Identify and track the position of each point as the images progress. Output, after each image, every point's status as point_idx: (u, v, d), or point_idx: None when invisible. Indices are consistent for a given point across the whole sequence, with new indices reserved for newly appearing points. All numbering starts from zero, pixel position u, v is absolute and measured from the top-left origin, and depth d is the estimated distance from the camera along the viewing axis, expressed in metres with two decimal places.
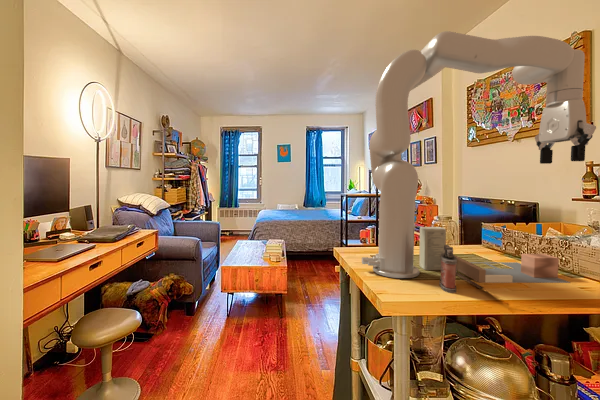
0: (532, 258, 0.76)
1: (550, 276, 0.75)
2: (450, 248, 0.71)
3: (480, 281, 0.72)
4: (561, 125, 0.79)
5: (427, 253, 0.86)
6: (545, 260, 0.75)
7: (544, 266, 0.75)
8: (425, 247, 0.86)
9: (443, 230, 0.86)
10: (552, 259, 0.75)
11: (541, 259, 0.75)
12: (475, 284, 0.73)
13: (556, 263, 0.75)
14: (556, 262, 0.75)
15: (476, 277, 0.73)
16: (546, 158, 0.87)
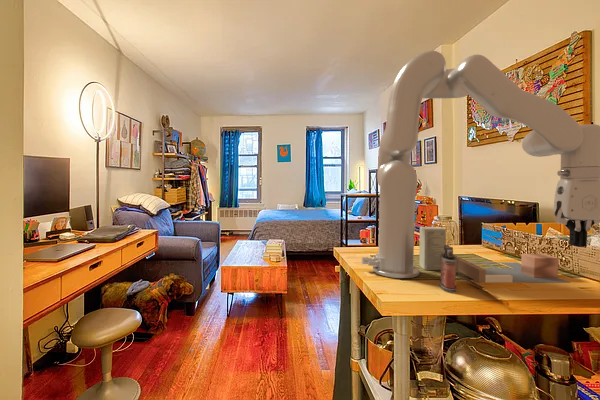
0: (532, 258, 0.76)
1: (550, 276, 0.75)
2: (450, 248, 0.71)
3: (480, 281, 0.72)
4: None
5: (427, 253, 0.86)
6: (545, 260, 0.75)
7: (544, 266, 0.75)
8: (425, 247, 0.86)
9: (443, 230, 0.86)
10: (552, 259, 0.75)
11: (541, 259, 0.75)
12: (475, 284, 0.73)
13: (556, 263, 0.75)
14: (556, 262, 0.75)
15: (476, 277, 0.73)
16: None
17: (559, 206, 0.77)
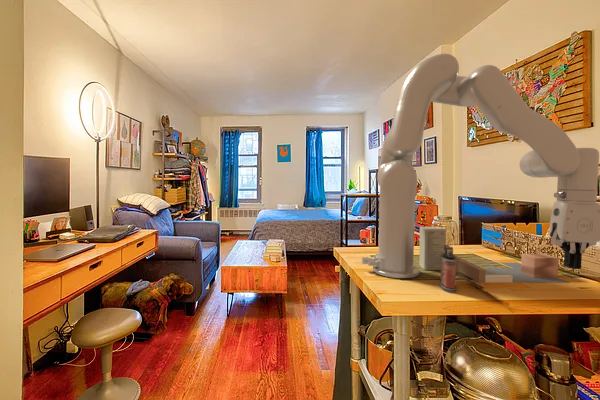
0: (532, 258, 0.76)
1: (550, 276, 0.75)
2: (450, 248, 0.71)
3: (480, 281, 0.72)
4: (595, 227, 0.74)
5: (427, 253, 0.86)
6: (545, 260, 0.75)
7: (544, 266, 0.75)
8: (425, 247, 0.86)
9: (443, 230, 0.86)
10: (552, 259, 0.75)
11: (541, 259, 0.75)
12: (475, 284, 0.73)
13: (556, 263, 0.75)
14: (556, 262, 0.75)
15: (476, 277, 0.73)
16: None
17: (555, 227, 0.77)
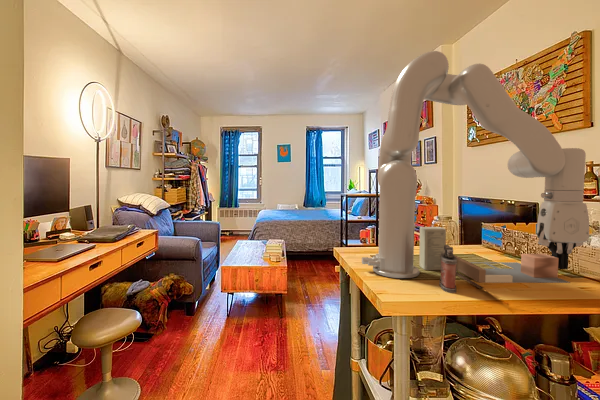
0: (532, 258, 0.76)
1: (550, 276, 0.75)
2: (450, 248, 0.71)
3: (480, 281, 0.72)
4: (582, 228, 0.74)
5: (427, 253, 0.86)
6: (545, 260, 0.75)
7: (544, 266, 0.75)
8: (425, 247, 0.86)
9: (443, 230, 0.86)
10: (552, 259, 0.75)
11: (541, 259, 0.75)
12: (475, 284, 0.73)
13: (556, 263, 0.75)
14: (556, 262, 0.75)
15: (476, 277, 0.73)
16: None
17: (542, 228, 0.77)
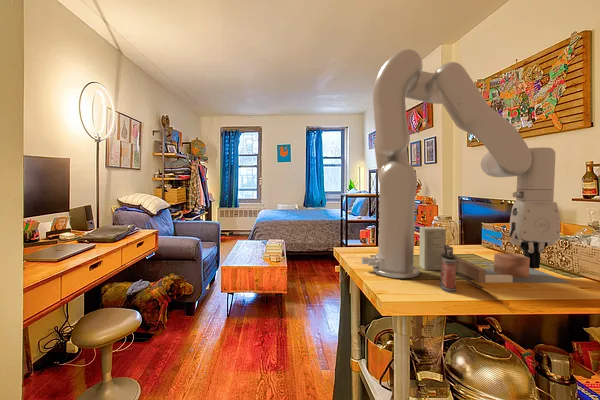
0: (503, 258, 0.76)
1: (521, 276, 0.75)
2: (450, 248, 0.71)
3: (480, 281, 0.72)
4: (552, 227, 0.74)
5: (427, 253, 0.86)
6: (516, 260, 0.75)
7: (515, 266, 0.75)
8: (425, 247, 0.86)
9: (443, 230, 0.86)
10: (523, 259, 0.75)
11: (512, 259, 0.75)
12: (475, 284, 0.73)
13: (527, 263, 0.75)
14: (527, 262, 0.75)
15: (476, 277, 0.73)
16: None
17: (514, 227, 0.77)
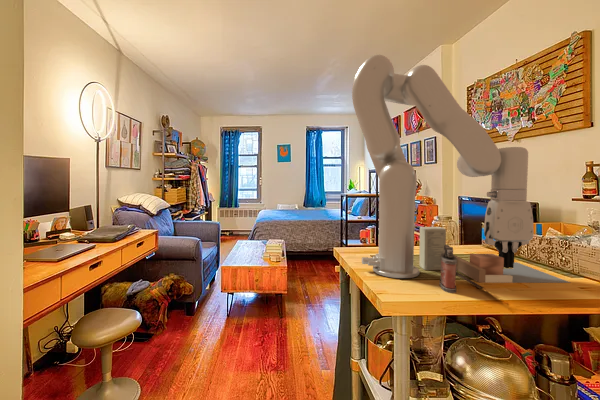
0: (478, 258, 0.76)
1: None
2: (450, 248, 0.71)
3: (480, 281, 0.72)
4: (525, 226, 0.74)
5: (427, 253, 0.86)
6: (491, 260, 0.75)
7: (489, 266, 0.75)
8: (425, 247, 0.86)
9: (443, 230, 0.86)
10: (497, 259, 0.75)
11: (486, 259, 0.75)
12: (475, 284, 0.73)
13: (501, 263, 0.75)
14: (501, 262, 0.75)
15: (476, 277, 0.73)
16: None
17: (488, 227, 0.77)
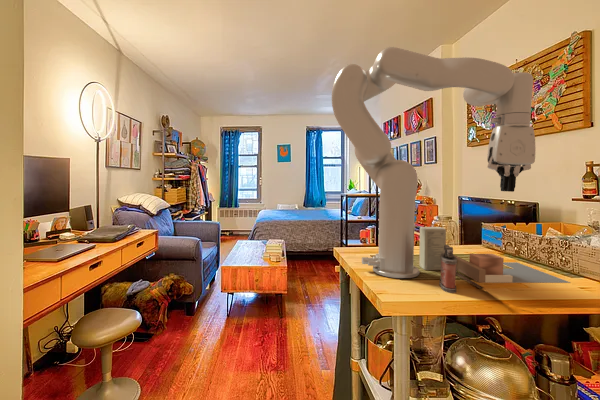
0: (478, 258, 0.76)
1: None
2: (450, 248, 0.71)
3: (480, 281, 0.72)
4: (528, 150, 0.77)
5: (427, 253, 0.86)
6: (490, 260, 0.75)
7: (489, 266, 0.75)
8: (425, 247, 0.86)
9: (443, 230, 0.86)
10: (497, 259, 0.75)
11: (486, 259, 0.75)
12: (475, 284, 0.73)
13: (501, 263, 0.75)
14: (501, 262, 0.75)
15: (476, 277, 0.73)
16: None
17: (491, 152, 0.81)
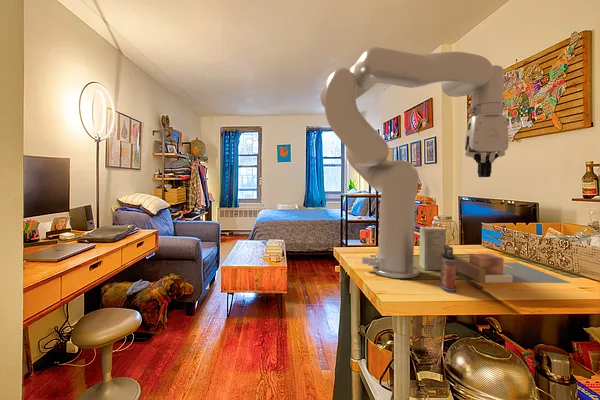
0: (478, 258, 0.76)
1: None
2: (450, 248, 0.71)
3: (480, 281, 0.72)
4: (501, 137, 0.83)
5: (427, 253, 0.86)
6: (490, 260, 0.75)
7: (489, 266, 0.75)
8: (425, 247, 0.86)
9: (443, 230, 0.86)
10: (497, 259, 0.75)
11: (486, 259, 0.75)
12: (475, 284, 0.73)
13: (501, 263, 0.75)
14: (501, 262, 0.75)
15: (476, 277, 0.73)
16: None
17: (468, 141, 0.86)
